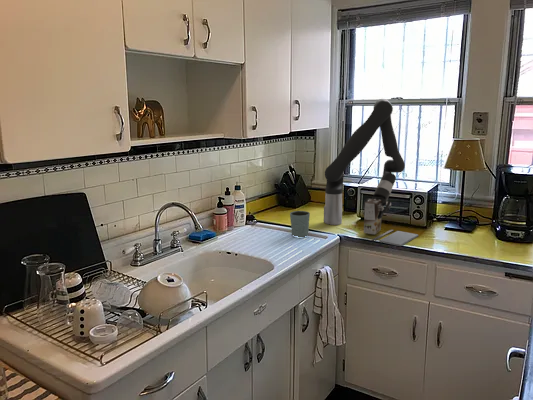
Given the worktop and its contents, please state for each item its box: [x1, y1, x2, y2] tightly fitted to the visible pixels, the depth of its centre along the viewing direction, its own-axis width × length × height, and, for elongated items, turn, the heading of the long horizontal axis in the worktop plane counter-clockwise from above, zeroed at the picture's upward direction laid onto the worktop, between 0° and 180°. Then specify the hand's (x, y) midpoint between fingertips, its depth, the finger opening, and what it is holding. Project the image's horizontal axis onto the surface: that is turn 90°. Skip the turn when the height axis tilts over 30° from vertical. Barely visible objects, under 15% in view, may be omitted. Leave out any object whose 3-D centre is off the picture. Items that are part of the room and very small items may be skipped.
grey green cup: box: [289, 210, 311, 237], centre depth 232 cm, size 10×10×12 cm
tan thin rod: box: [370, 229, 394, 242], centre depth 230 cm, size 2×22×1 cm, turn 139°
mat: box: [379, 230, 419, 247], centre depth 224 cm, size 11×20×1 cm, turn 139°
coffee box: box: [363, 198, 382, 235], centre depth 232 cm, size 9×6×16 cm
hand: (371, 217), depth 231 cm, fingers closed on coffee box, 7 cm apart
